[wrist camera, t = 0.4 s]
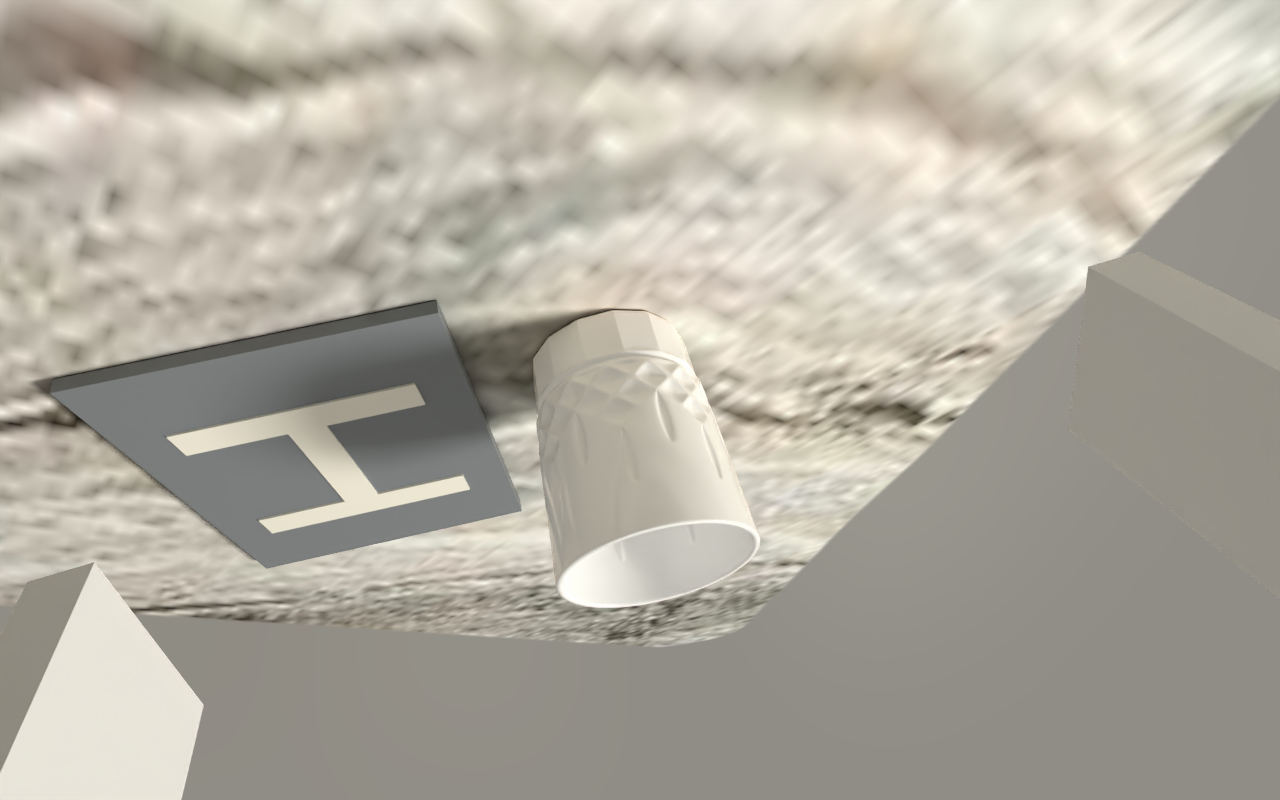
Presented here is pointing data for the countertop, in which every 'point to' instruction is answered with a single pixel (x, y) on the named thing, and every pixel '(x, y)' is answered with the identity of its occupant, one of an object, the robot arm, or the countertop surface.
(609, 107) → the countertop surface
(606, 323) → the white cup
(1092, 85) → the countertop surface
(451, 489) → the letter board
